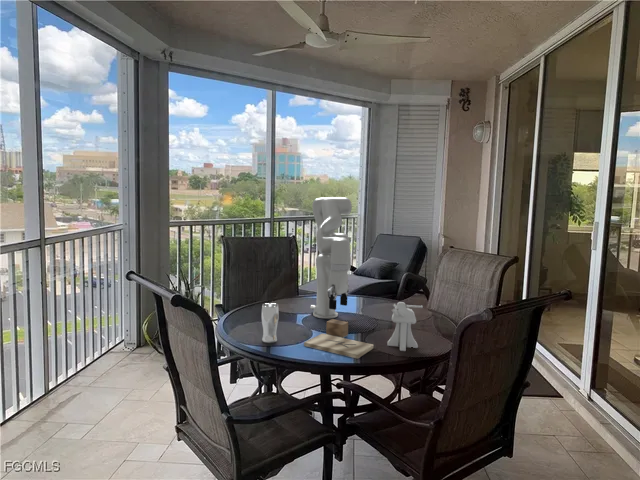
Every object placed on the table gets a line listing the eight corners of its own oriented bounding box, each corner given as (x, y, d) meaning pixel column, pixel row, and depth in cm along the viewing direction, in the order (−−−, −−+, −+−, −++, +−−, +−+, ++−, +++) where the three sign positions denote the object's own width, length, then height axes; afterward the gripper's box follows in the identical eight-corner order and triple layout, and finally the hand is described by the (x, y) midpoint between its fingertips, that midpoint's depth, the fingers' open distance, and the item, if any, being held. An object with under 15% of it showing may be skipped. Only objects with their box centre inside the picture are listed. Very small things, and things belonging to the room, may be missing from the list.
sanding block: (326, 335, 191) (326, 321, 191) (331, 332, 196) (332, 319, 195) (342, 338, 187) (342, 324, 187) (347, 335, 191) (348, 322, 191)
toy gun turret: (421, 352, 173) (423, 307, 171) (387, 349, 175) (389, 305, 173) (419, 342, 185) (421, 300, 183) (387, 340, 187) (389, 298, 185)
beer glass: (271, 344, 177) (271, 307, 175) (257, 341, 180) (258, 305, 179) (281, 340, 183) (282, 304, 181) (268, 336, 186) (268, 302, 185)
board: (304, 345, 176) (304, 341, 176) (322, 336, 188) (322, 333, 188) (357, 358, 164) (357, 354, 164) (373, 348, 176) (373, 344, 176)
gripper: (341, 264, 198) (340, 302, 199) (321, 268, 183) (320, 309, 184) (356, 266, 194) (355, 304, 195) (337, 270, 179) (336, 312, 180)
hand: (338, 307), depth 189 cm, fingers open, 9 cm apart
